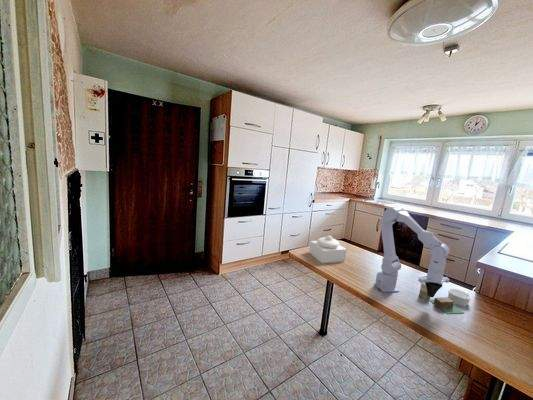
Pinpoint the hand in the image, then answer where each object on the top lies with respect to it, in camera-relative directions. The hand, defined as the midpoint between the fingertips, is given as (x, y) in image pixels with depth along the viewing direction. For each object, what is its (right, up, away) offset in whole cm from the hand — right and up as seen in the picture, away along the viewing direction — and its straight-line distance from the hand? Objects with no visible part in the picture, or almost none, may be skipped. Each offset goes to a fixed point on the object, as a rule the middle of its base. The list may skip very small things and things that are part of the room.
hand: (430, 296), depth 109 cm
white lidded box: (-36, +5, +52) cm, 63 cm away
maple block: (+4, -5, +10) cm, 12 cm away
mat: (+9, -6, +3) cm, 12 cm away
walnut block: (+4, -4, +1) cm, 6 cm away
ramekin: (+20, -6, +8) cm, 22 cm away
